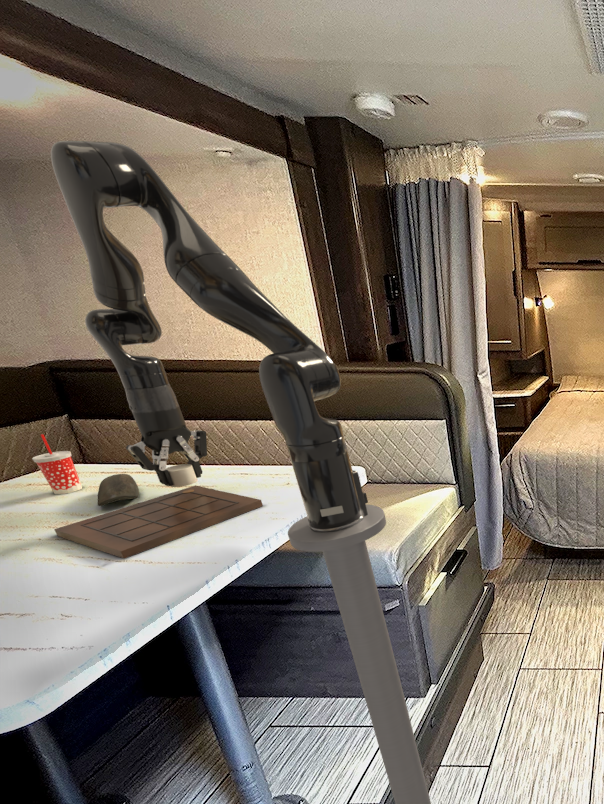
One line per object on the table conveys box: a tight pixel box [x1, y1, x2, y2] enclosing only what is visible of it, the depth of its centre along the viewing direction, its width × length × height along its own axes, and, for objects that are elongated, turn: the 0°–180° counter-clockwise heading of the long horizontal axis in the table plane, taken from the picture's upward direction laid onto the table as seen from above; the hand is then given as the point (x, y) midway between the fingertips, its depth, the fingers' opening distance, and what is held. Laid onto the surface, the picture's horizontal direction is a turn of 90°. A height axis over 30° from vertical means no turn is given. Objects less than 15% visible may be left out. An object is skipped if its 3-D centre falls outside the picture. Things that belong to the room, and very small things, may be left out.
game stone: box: [166, 463, 198, 488], centre depth 112 cm, size 5×5×4 cm
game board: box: [54, 485, 264, 560], centre depth 103 cm, size 24×24×2 cm
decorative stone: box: [96, 473, 140, 507], centre depth 115 cm, size 17×6×4 cm, turn 42°
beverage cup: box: [31, 433, 83, 495], centre depth 118 cm, size 6×6×14 cm
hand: (183, 480), depth 113 cm, fingers closed on game stone, 4 cm apart
